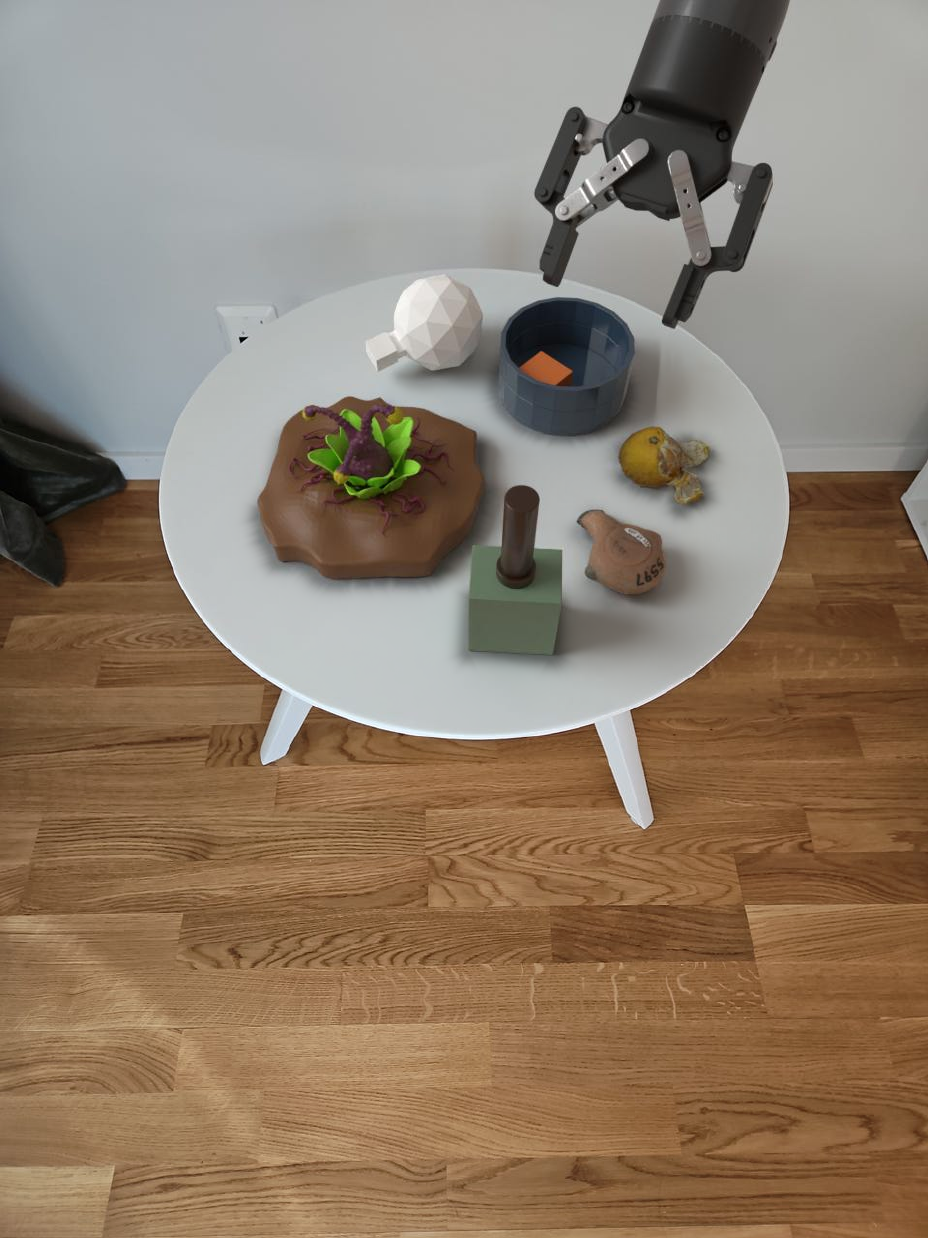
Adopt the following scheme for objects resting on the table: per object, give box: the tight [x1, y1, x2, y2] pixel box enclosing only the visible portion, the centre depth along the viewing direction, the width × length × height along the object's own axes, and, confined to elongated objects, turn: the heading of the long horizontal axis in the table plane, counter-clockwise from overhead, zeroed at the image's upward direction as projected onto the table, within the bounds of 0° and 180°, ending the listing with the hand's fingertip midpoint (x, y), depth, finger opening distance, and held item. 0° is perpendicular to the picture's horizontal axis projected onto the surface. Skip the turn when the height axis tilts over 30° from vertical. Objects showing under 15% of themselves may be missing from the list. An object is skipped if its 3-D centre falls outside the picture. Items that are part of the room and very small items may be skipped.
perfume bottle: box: [364, 273, 484, 373], centre depth 88 cm, size 9×9×12 cm
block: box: [519, 351, 573, 387], centre depth 86 cm, size 4×4×4 cm
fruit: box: [617, 426, 710, 506], centre depth 83 cm, size 8×8×4 cm
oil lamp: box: [576, 509, 667, 595], centre depth 78 cm, size 9×4×8 cm
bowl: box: [497, 296, 636, 437], centre depth 87 cm, size 13×13×6 cm
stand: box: [467, 544, 563, 656], centre depth 72 cm, size 7×5×8 cm
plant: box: [256, 395, 485, 579], centre depth 78 cm, size 20×20×11 cm
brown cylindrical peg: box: [496, 484, 541, 589], centre depth 65 cm, size 3×3×9 cm
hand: (608, 304), depth 60 cm, fingers open, 8 cm apart
